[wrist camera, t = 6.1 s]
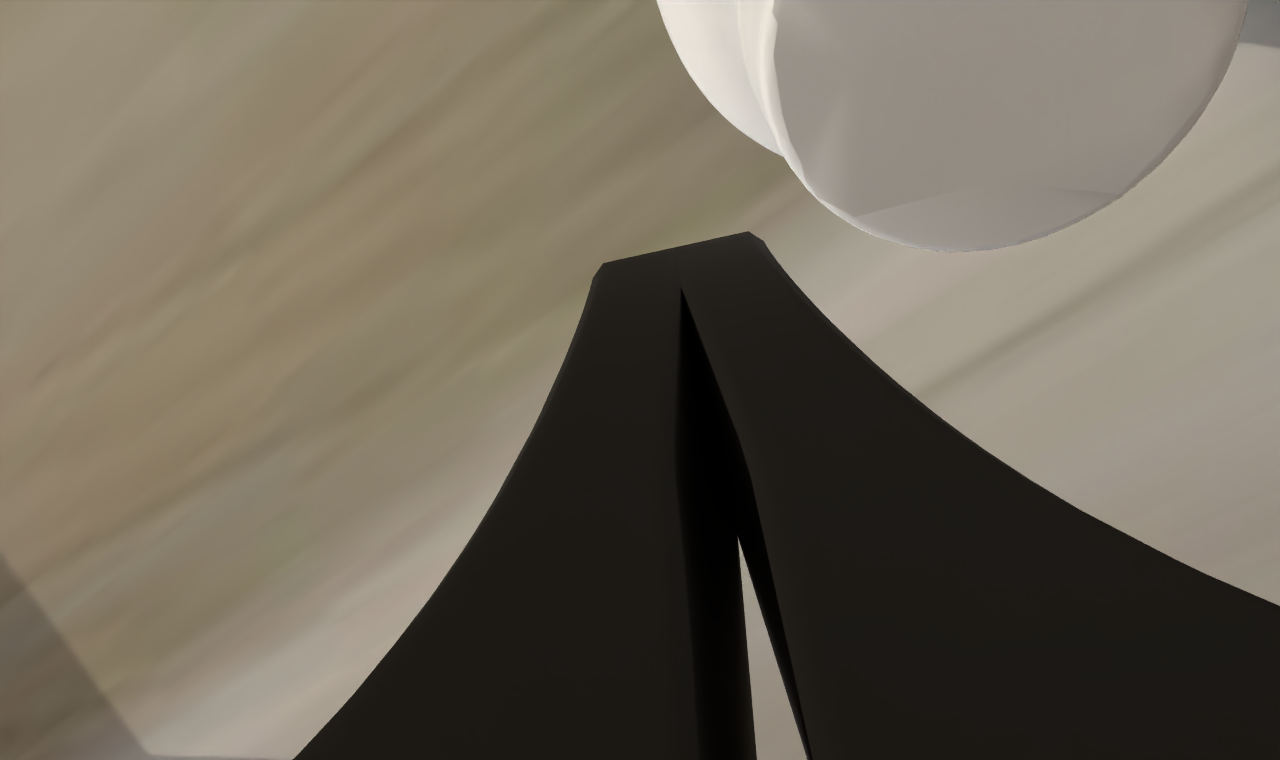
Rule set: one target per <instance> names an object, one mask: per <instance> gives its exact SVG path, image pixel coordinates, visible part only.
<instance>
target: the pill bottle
mask: <svg viewBox="0 0 1280 760" xmlns="http://www.w3.org/2000/svg"><path fill="white" fill-rule="evenodd" d="M656 1H657V4H658V7H659V10H660V13H661V16H662V18H663V21H664V24H665V27H666V29H667V31H668V34H669V36H670V38H671V40H672V43H673V45H674V47H675V49H676V51H677V53H678V55H679V57H680V59H681V61H682V62H683V64H684V66H685V68H686V69H687V71H688V73H689V74H690V76H691V77H692V79H693V80H694V82H695V83H696V84H697V86H698V87H699V89H700V90H701V91H702V93H703V94H704V95H705V96H706V98H707V99H708V100H709V101H710V102H711V104H712V105H713V106H714V107H715V108H716V109H717V110H718V111H719V112H720V113H721V114H722V115H723V116H724V117H725V118H726V119H727V120H728V121H729V122H731V123H732V124H733V125H734V126H735V127H736V128H738V129H739V130H740V131H742V132H743V133H744V134H746V135H747V136H748V137H750V138H751V139H753V140H754V141H756V142H758V143H759V144H761V145H762V146H764V147H766V148H767V149H769V150H771V151H773V152H775V153H777V154H779V155H781V156H783V157H784V158H785V159H786V161H787V163H788V164H789V166H790V168H791V169H792V170H793V171H794V173H795V174H796V175H797V177H798V178H799V179H800V180H801V182H802V183H803V184H804V186H805V187H806V188H807V189H808V190H809V191H810V192H811V193H812V194H813V195H814V196H815V197H816V198H817V199H818V200H819V201H820V202H821V203H822V204H823V205H825V206H826V207H827V208H828V209H829V210H831V211H832V212H833V213H835V214H836V215H838V216H839V217H841V218H842V219H844V220H845V221H847V222H848V223H850V224H851V225H853V226H855V227H857V228H859V229H861V230H863V231H865V232H867V233H869V234H871V235H873V236H876V237H879V238H882V239H885V240H888V241H891V242H894V243H897V244H901V245H905V246H908V247H912V248H920V249H930V250H934V251H945V252H956V251H963V252H969V251H980V250H991V249H998V248H1003V247H1007V246H1012V245H1017V244H1021V243H1025V242H1028V241H1032V240H1035V239H1038V238H1042V237H1045V236H1048V235H1050V234H1052V233H1054V232H1057V231H1059V230H1061V229H1063V228H1066V227H1068V226H1070V225H1072V224H1074V223H1077V222H1079V221H1081V220H1083V219H1084V218H1086V217H1088V216H1090V215H1092V214H1094V213H1095V212H1097V211H1099V210H1100V209H1102V208H1104V207H1106V206H1108V205H1109V204H1111V203H1112V202H1114V201H1115V200H1117V199H1119V198H1120V197H1122V196H1123V195H1124V194H1125V193H1126V192H1128V191H1129V190H1130V189H1131V188H1133V187H1135V186H1136V185H1137V184H1138V183H1139V181H1141V180H1142V179H1143V178H1145V177H1146V176H1147V175H1149V174H1150V173H1151V172H1152V171H1153V170H1154V169H1155V168H1156V167H1158V166H1159V165H1160V164H1161V163H1162V162H1163V160H1164V159H1165V158H1166V157H1167V156H1168V155H1169V154H1170V153H1171V152H1172V151H1173V149H1174V148H1175V147H1176V146H1177V145H1178V144H1179V143H1180V142H1181V140H1182V139H1183V138H1184V137H1185V136H1186V134H1187V133H1188V132H1189V131H1190V130H1191V129H1192V127H1193V126H1194V125H1195V123H1196V122H1197V120H1198V119H1199V117H1200V116H1201V114H1202V113H1203V112H1204V110H1205V108H1206V107H1207V105H1208V103H1209V102H1210V100H1211V98H1212V97H1213V95H1214V93H1215V92H1216V90H1217V88H1218V87H1219V85H1220V83H1221V82H1222V80H1223V77H1224V75H1225V73H1226V71H1227V69H1228V67H1229V65H1230V62H1231V60H1232V57H1233V55H1234V52H1235V50H1236V46H1237V42H1238V38H1239V35H1240V31H1241V27H1242V24H1243V21H1244V18H1245V13H1246V8H1247V3H1248V0H656Z"/></svg>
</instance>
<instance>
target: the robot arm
mask: <svg viewBox="0 0 1280 760" xmlns="http://www.w3.org/2000/svg"><path fill="white" fill-rule="evenodd" d="M738 538H739V542H740V545H741V548H742V551H743V554H744V558H745V561H746V564H747V567H748V571H749V574H750V577H751V580H752V583H753V587H754V590H755V593H756V596H757V599H758V603H759V606H760V609H761V612H762V616H763V619H764V622H765V625H766V628H767V631H768V635H769V638H770V641H771V644H772V647H773V651H774V654H775V657H776V660H777V663H778V667H779V670H780V673H781V676H782V679H783V683H784V686H785V689H786V692H787V695H788V699H789V702H790V705H791V708H792V711H793V715H794V718H795V721H796V724H797V727H798V731H799V734H800V737H801V740H802V743H803V747H804V750H805V753H806V756H807V760H1280V606H1278V605H1276V604H1274V603H1271V602H1269V601H1267V600H1264V599H1262V598H1260V597H1257V596H1255V595H1253V594H1250V593H1248V592H1246V591H1244V590H1241V589H1239V588H1237V587H1234V586H1232V585H1230V584H1227V583H1225V582H1223V581H1220V580H1218V579H1216V578H1214V577H1211V576H1209V575H1207V574H1205V573H1202V572H1200V571H1198V570H1196V569H1194V568H1192V567H1190V566H1188V565H1186V564H1184V563H1181V562H1179V561H1177V560H1175V559H1173V558H1171V557H1170V556H1168V555H1166V554H1164V553H1162V552H1160V551H1158V550H1156V549H1154V548H1152V547H1150V546H1148V545H1146V544H1144V543H1143V542H1141V541H1139V540H1137V539H1135V538H1133V537H1131V536H1129V535H1127V534H1125V533H1123V532H1121V531H1119V530H1118V529H1116V528H1114V527H1112V526H1110V525H1108V524H1106V523H1104V522H1102V521H1100V520H1098V519H1096V518H1094V517H1092V516H1091V515H1089V514H1087V513H1085V512H1083V511H1081V510H1079V509H1078V508H1076V507H1074V506H1073V505H1071V504H1069V503H1068V502H1066V501H1064V500H1063V499H1061V498H1059V497H1058V496H1056V495H1054V494H1053V493H1051V492H1049V491H1048V490H1046V489H1044V488H1043V487H1041V486H1039V485H1038V484H1036V483H1034V482H1033V481H1031V480H1029V479H1028V478H1026V477H1025V476H1023V475H1022V474H1020V473H1019V472H1017V471H1016V470H1014V469H1013V468H1011V467H1010V466H1008V465H1007V464H1005V463H1004V462H1002V461H1001V460H999V459H998V458H996V457H995V456H993V455H992V454H990V453H989V452H987V451H986V450H984V449H983V448H981V447H980V446H978V445H977V444H976V443H974V442H973V441H972V440H970V439H969V438H967V437H966V436H965V435H963V434H962V433H960V432H959V431H958V430H956V429H955V428H954V427H952V426H951V425H950V424H948V423H947V422H946V421H944V420H943V419H942V418H940V417H939V416H938V415H936V414H935V413H934V412H933V411H931V410H930V409H929V408H928V407H927V406H925V405H924V404H923V403H922V402H920V401H919V400H918V399H917V398H915V397H914V396H913V395H912V394H910V393H909V392H908V391H907V390H905V389H904V388H903V387H902V386H900V385H899V384H898V383H897V382H896V381H895V380H893V379H892V378H891V377H890V376H889V375H888V374H887V373H885V372H884V371H883V370H882V369H881V368H880V367H879V366H877V365H876V364H875V363H874V362H873V361H872V360H871V359H870V358H869V357H868V356H866V355H865V354H864V353H863V352H862V351H861V350H860V349H859V348H858V347H857V346H856V345H855V344H854V343H853V342H852V341H851V340H850V339H848V338H847V337H846V336H845V335H844V334H843V333H842V332H841V331H840V330H839V329H838V328H837V327H836V326H835V325H834V324H833V323H832V322H831V321H830V320H829V319H828V318H827V317H826V316H825V315H824V314H823V313H822V312H821V311H820V310H819V309H818V308H817V307H816V306H815V305H814V304H813V303H812V301H811V300H810V299H809V298H808V297H807V296H806V295H805V294H804V293H803V292H802V290H801V289H800V288H799V287H798V286H797V285H796V284H795V283H794V281H793V280H792V279H791V278H790V277H789V275H788V274H787V273H786V272H785V271H784V269H783V268H782V267H781V266H780V264H779V263H778V262H777V260H776V259H775V258H774V256H773V255H772V254H771V252H770V251H769V249H768V248H767V246H766V244H765V243H764V241H763V240H761V239H759V238H758V237H756V236H755V235H753V234H752V233H750V232H749V231H748V232H743V233H739V234H734V235H729V236H725V237H720V238H716V239H711V240H707V241H702V242H698V243H693V244H688V245H684V246H679V247H675V248H670V249H666V250H661V251H657V252H652V253H647V254H643V255H638V256H634V257H629V258H625V259H620V260H616V261H611V262H607V263H603V264H602V266H601V267H600V269H599V270H598V272H597V273H596V274H595V276H594V277H593V280H592V284H591V287H590V291H589V294H588V297H587V301H586V304H585V307H584V310H583V313H582V316H581V318H580V321H579V324H578V327H577V329H576V332H575V334H574V337H573V340H572V342H571V345H570V347H569V350H568V352H567V355H566V357H565V360H564V362H563V364H562V367H561V369H560V371H559V373H558V375H557V378H556V380H555V382H554V384H553V387H552V389H551V391H550V393H549V395H548V398H547V400H546V402H545V404H544V406H543V409H542V411H541V413H540V415H539V417H538V419H537V421H536V424H535V426H534V428H533V430H532V432H531V434H530V435H529V437H528V439H527V441H526V443H525V445H524V446H523V448H522V450H521V452H520V454H519V456H518V458H517V459H516V461H515V463H514V465H513V467H512V469H511V470H510V472H509V474H508V476H507V478H506V480H505V482H504V483H503V485H502V487H501V489H500V491H499V493H498V494H497V496H496V498H495V500H494V501H493V503H492V505H491V506H490V508H489V510H488V511H487V513H486V515H485V516H484V518H483V520H482V521H481V523H480V524H479V526H478V528H477V529H476V531H475V533H474V534H473V536H472V537H471V539H470V540H469V542H468V543H467V545H466V546H465V548H464V550H463V551H462V553H461V554H460V556H459V557H458V558H457V560H456V561H455V563H454V564H453V566H452V567H451V569H450V570H449V572H448V573H447V575H446V576H445V577H444V579H443V580H442V582H441V583H440V585H439V586H438V588H437V589H436V590H435V592H434V593H433V595H432V596H431V597H430V599H429V600H428V601H427V603H426V604H425V605H424V607H423V608H422V609H421V611H420V612H419V613H418V614H417V616H416V617H415V618H414V620H413V621H412V622H411V624H410V625H409V626H408V627H407V629H406V630H405V631H404V633H403V634H402V635H401V637H400V638H399V639H398V640H397V642H396V643H395V644H394V646H393V647H392V648H391V649H390V650H389V652H388V653H387V654H386V655H385V657H384V658H383V659H382V660H381V662H380V663H379V664H378V665H377V666H376V668H375V669H374V670H373V671H372V673H371V674H370V675H369V676H368V677H367V679H366V680H365V681H364V682H363V684H362V685H361V686H360V687H359V688H358V690H357V691H356V692H355V693H354V694H353V695H352V697H351V698H350V699H349V700H348V701H347V702H346V703H345V704H344V706H343V707H342V708H341V709H340V710H339V711H338V712H337V713H336V714H335V715H334V716H333V718H332V719H331V720H330V721H329V722H328V723H327V724H326V725H325V726H324V727H323V728H322V729H321V730H320V732H319V733H318V734H317V735H316V736H315V737H314V738H313V739H312V740H311V741H310V742H309V743H308V744H307V746H306V747H305V748H304V749H303V750H302V751H301V752H300V753H299V754H298V755H297V756H296V757H295V758H294V759H293V760H757V756H756V744H755V732H754V720H753V709H752V697H751V685H750V673H749V661H748V650H747V638H746V626H745V614H744V603H743V591H742V580H741V568H740V557H739V546H738Z"/></svg>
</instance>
